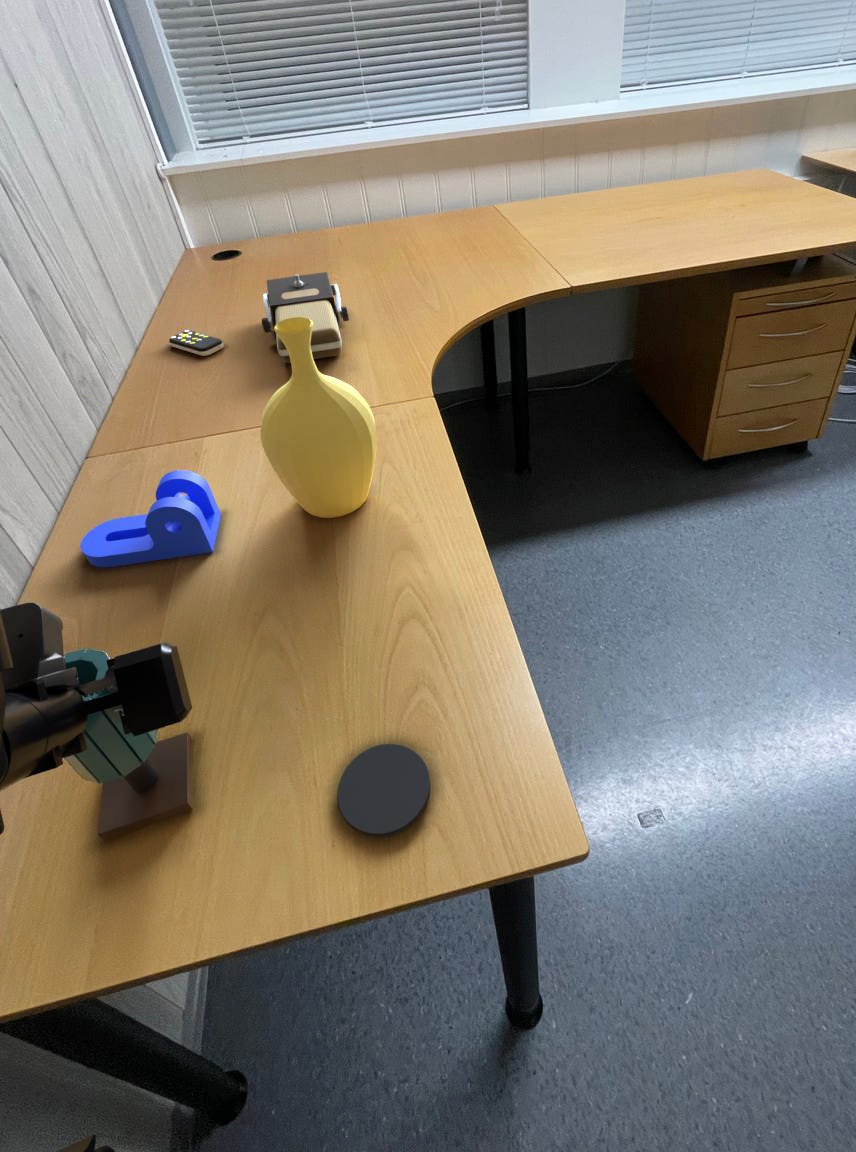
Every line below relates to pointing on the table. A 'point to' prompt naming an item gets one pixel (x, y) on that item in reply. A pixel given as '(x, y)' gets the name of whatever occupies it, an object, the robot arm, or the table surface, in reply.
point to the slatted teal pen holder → (105, 729)
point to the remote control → (196, 343)
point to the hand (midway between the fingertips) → (93, 699)
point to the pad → (384, 790)
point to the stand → (150, 790)
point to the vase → (318, 432)
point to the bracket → (159, 526)
